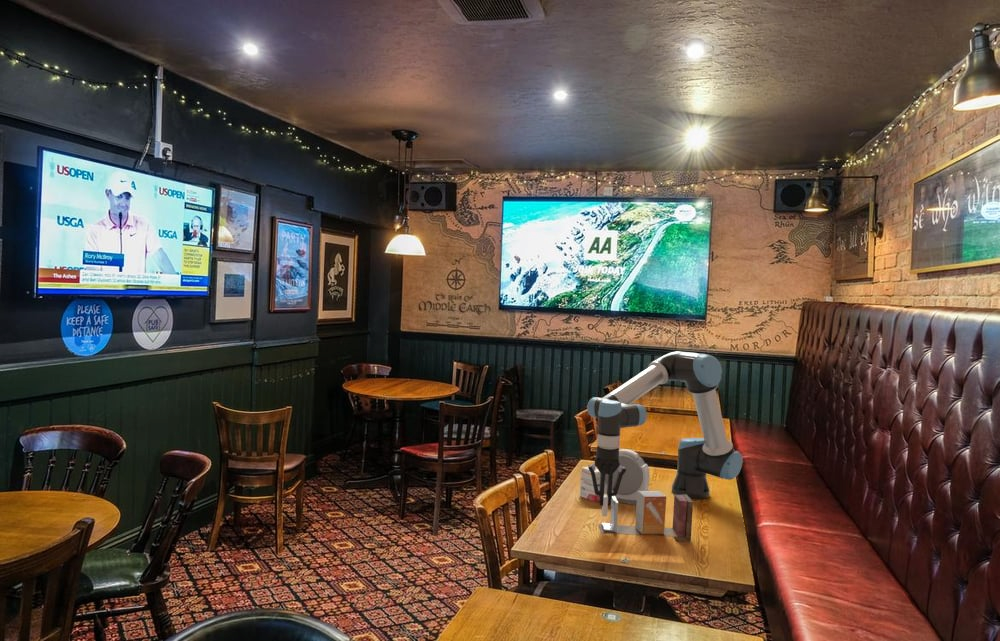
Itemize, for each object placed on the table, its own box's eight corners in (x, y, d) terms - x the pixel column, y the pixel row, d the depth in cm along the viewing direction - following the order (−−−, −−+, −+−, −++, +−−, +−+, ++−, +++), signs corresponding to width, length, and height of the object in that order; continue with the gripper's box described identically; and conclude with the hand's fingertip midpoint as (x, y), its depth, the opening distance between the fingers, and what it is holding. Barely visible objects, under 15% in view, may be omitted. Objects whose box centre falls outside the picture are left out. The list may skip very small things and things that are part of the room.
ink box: (603, 500, 257) (604, 470, 256) (594, 502, 254) (595, 472, 253) (587, 494, 263) (589, 465, 263) (579, 496, 260) (580, 467, 260)
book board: (684, 532, 225) (686, 494, 224) (690, 541, 217) (693, 502, 216) (597, 528, 225) (599, 490, 225) (600, 537, 217) (602, 497, 217)
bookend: (613, 524, 225) (615, 496, 224) (616, 532, 218) (618, 502, 217) (601, 524, 225) (602, 495, 224) (604, 531, 218) (605, 502, 217)
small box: (642, 534, 217) (644, 496, 217) (634, 527, 223) (636, 490, 223) (664, 534, 219) (666, 496, 218) (656, 527, 225) (658, 490, 224)
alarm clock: (649, 502, 257) (651, 451, 256) (643, 508, 249) (646, 456, 248) (605, 493, 265) (607, 444, 264) (598, 499, 257) (601, 448, 256)
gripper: (625, 444, 224) (621, 512, 225) (587, 442, 224) (584, 510, 225) (629, 450, 216) (625, 519, 217) (590, 448, 216) (586, 517, 218)
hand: (604, 514), depth 221 cm, fingers closed
